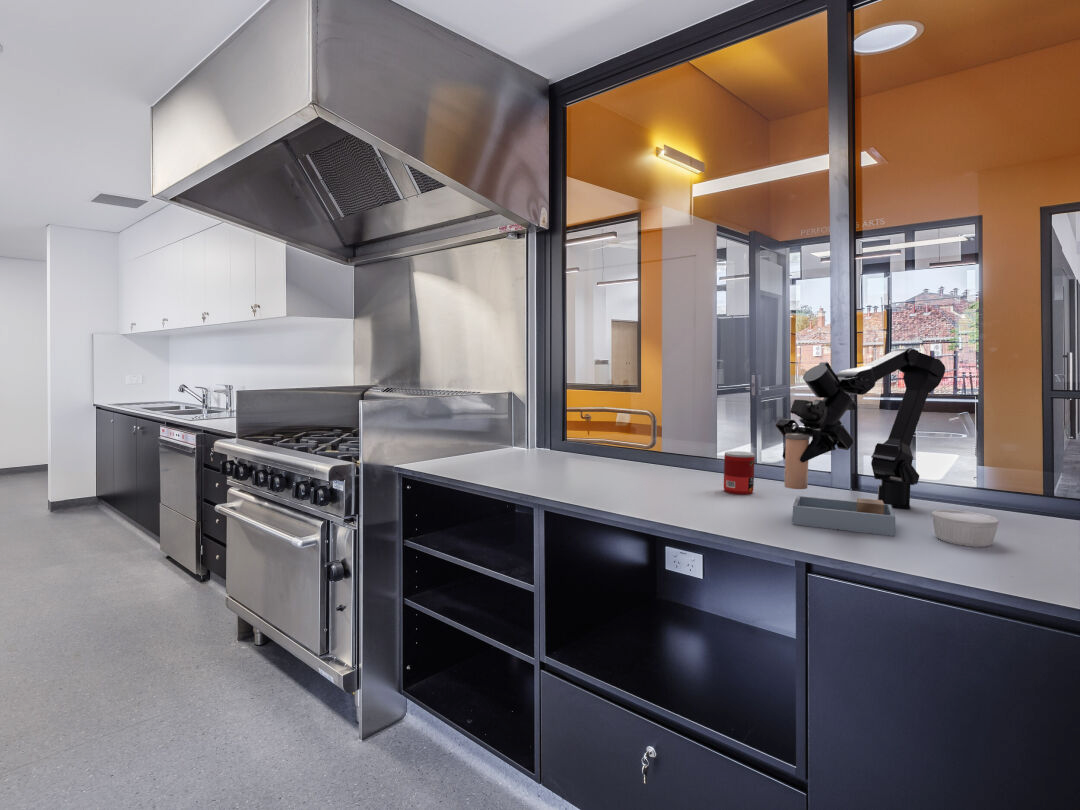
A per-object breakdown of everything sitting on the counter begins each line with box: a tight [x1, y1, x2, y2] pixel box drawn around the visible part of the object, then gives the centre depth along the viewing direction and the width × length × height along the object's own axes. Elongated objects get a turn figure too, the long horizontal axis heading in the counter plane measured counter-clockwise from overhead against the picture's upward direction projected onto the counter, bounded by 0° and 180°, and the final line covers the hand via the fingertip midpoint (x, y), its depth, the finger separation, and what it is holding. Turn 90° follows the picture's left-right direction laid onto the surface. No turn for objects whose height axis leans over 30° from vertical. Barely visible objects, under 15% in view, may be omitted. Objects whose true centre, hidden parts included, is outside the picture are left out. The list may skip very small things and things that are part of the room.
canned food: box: [723, 450, 755, 495], centre depth 167 cm, size 8×8×11 cm
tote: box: [791, 495, 897, 537], centre depth 133 cm, size 20×13×4 cm, turn 63°
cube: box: [856, 497, 884, 515], centre depth 130 cm, size 5×5×5 cm
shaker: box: [783, 433, 811, 490], centre depth 139 cm, size 5×5×12 cm
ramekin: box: [931, 509, 1000, 548], centre depth 120 cm, size 11×11×5 cm
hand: (792, 459), depth 139 cm, fingers closed on shaker, 5 cm apart
